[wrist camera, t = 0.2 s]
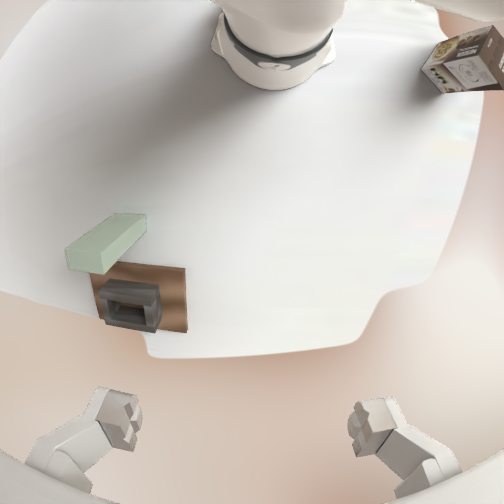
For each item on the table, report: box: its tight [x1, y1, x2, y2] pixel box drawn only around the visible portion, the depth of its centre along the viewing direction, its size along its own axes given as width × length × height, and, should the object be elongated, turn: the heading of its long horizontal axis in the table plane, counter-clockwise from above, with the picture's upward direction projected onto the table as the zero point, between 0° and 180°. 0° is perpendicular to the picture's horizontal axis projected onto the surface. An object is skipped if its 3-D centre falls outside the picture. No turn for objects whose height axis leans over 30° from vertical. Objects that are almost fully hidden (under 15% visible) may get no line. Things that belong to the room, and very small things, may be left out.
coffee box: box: [421, 25, 504, 93], centre depth 25 cm, size 9×6×16 cm
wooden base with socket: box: [90, 261, 188, 333], centre depth 50 cm, size 14×20×6 cm
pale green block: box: [65, 213, 146, 275], centre depth 39 cm, size 3×6×16 cm, turn 85°
